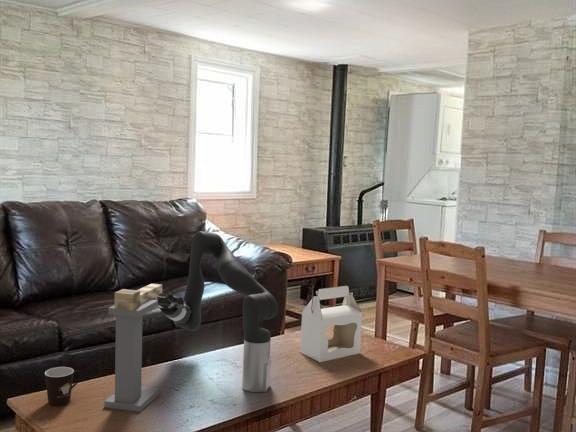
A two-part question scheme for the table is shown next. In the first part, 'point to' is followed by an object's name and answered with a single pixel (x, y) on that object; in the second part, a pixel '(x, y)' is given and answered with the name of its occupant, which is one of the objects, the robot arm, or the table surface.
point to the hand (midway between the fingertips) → (157, 295)
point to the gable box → (321, 319)
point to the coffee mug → (60, 385)
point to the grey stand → (130, 360)
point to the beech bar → (136, 296)
